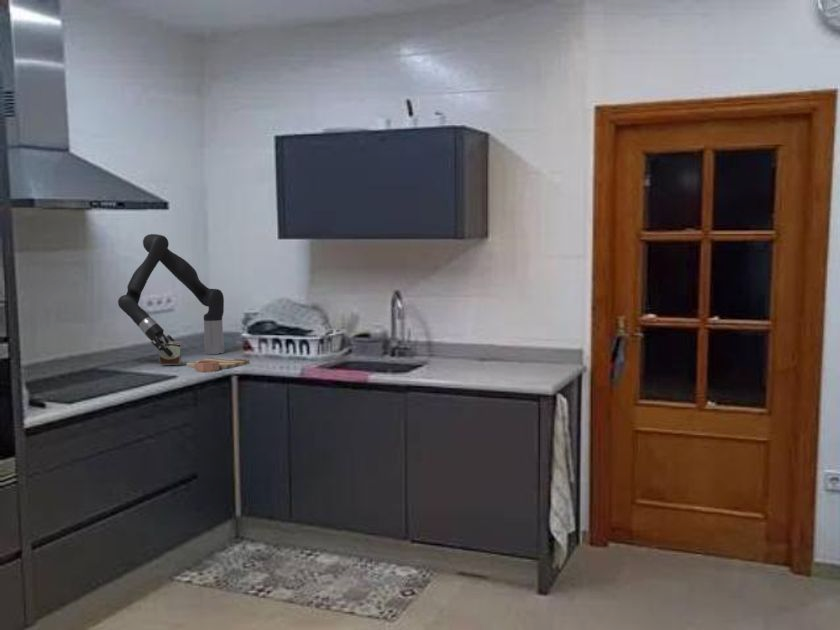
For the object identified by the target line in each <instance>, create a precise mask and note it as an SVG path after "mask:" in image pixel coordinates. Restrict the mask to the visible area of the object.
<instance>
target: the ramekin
mask: <svg viewBox="0 0 840 630" xmlns="http://www.w3.org/2000/svg"><path fill="white" fill-rule="evenodd" d="M197 361H198V362H195V361H194V362H195V367H194V370H195V372H196V371H198V372H197V373H212V372H213V371H214V372H218V371H219V361H217V360H205V361H200V360H197ZM214 372H213V373H214Z"/></svg>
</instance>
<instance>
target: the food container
mask: <svg viewBox="0 0 840 630" xmlns="http://www.w3.org/2000/svg"><path fill="white" fill-rule="evenodd" d="M165 345H166V346H167V348H168V349H169V350H170V351H171V352H172V353H173V354H172V355H171V356H170V357H169V356H168V355H167V354H166V353H165V352H164V351H162V350H161V351H160V350H159V349H157V352H158V359H159V364H160V365H181V360H182V348H183V347H184V346H183V343H182V341H176V340H174V341H169V342H168V343H167V344H165ZM163 346H164V345H163ZM158 347H160V345H159V346H158Z"/></svg>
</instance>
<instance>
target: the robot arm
mask: <svg viewBox="0 0 840 630" xmlns="http://www.w3.org/2000/svg"><path fill="white" fill-rule="evenodd" d="M167 238H168V237H166V236H165V235H163V234H156V233H150V234H146V235H145V236H144V237H143V240H142V245H143V248H144V250H145V251H146V252H148V254H147V256H146V257H145V259H144V261H143V262H142V263H141V264H140V265H139V266H138V267H137V268H136V270H135V271H134V272H133V274H132V276H131V278H130V280H129V282H128V284H127V287H126V288H127V292H126V294H123V295H121V296H120V297H119V298H118V301H117V305H118V307H119V308H120V309H121V310H122V311H123V312H124V313H125V314H126V315H128V317H129V318H131V320H132V321H133V322H134V324H135V325H137V327H138V328H139V330H140V331H141V332H142V333H143V334H144V335H145V336H146V337H147V338H148V339H149V340H150V341H151V344H152V345H153V346H154V347H155V348H156V349H157V350H158V349H159V350H160V351H161V350H162V351H164V352H165V353H166V354H167V355H168V356H169V357H170V356H171V355H172V354H173V353H172V352H171V351H170V350H169V349H168V348H167V346H166V345H165V344H167V343H168V342H169V341H175V339H174V338H173V337H172V336H171V335H170V334H167V335H165V334H164V329H163V327H161V325H160V324H158V322H157V321H156V320H155V319H154V318H152V317H151V315H149V314H148V312H146V311H145V310H144V309H143V308H142V307H141V306H140V305H139V303H140V299H141V295H142V292H143V290H144V288H145V287H146V285H147V282H148V280H149V278H150V276H151V275H152V273H153V271H154V270H155V269H156V267H157V265H158V264H159V262H160V263H161V264H162V265H163V266H164V268H166V270H168V271H169V272H170V273H171V274H172V275H173V276H174V277H175V279H177V280H178V281H179V282H180V283H181V284H182V285H184V286H185V287H186V288H187V289H188V290H189V291H190V292H191V293H192V294H193V295H194V296H195V298H196V299H197V301H199V302H200V303H201V305H203V306H205V307H208V311H207V313H205V314H203V331H204V332H203V333H204V335H203V339H204V354H205V353H206V354H205V355H220V354H219V353H222V354H224V353H225V334H224V332H223V331H224V330H223V329H224V328H223V316H224V312H225V310H224V309H225V307H224V306H225V305H224V303H225V298H224V294H223V291H222V290H220V289H217V288H209V287H207V286H206V285H205V284H204V283H203V282H202V281H201V280H200V279H199V276H198V273H197V272H198V271H196V269H195V268H194V266H192V265H191V264H190V263H189V262H188V261H187V260H185V259H184V258H183V257H181V256H179V255H178V254H176V253H174V252H172V250H170V249H169V240H168V239H167ZM159 345H160V347H158V346H159ZM163 345H164V346H163Z"/></svg>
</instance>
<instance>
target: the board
mask: <svg viewBox="0 0 840 630" xmlns="http://www.w3.org/2000/svg"><path fill="white" fill-rule="evenodd" d="M205 360H217V361H219V368H221V370H222V369H224V370H227V369H232V368H235V366H236V367H240V366H244V365H248V364H250V359H244V358H234V359H233V358H217V357H216V358H215V357H210V358H205V359H200V360H196V361H191V362H188V363H186V367H187V366H191V367H190V368H195V362H198V361H205ZM247 363H248V364H247ZM243 364H244V365H243ZM239 365H240V366H239Z"/></svg>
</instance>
